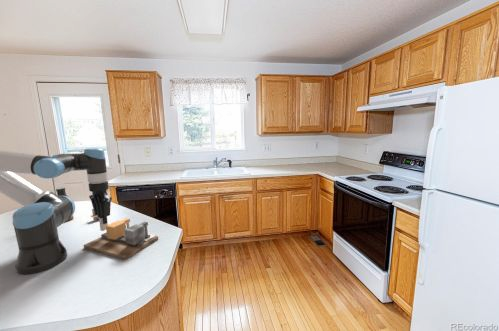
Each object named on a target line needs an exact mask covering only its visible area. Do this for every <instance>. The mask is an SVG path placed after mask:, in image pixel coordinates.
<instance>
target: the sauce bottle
mask: <svg viewBox="0 0 499 331" xmlns="http://www.w3.org/2000/svg"><path fill="white" fill-rule="evenodd" d="M55 191H56V195H58V196H67V197H69V196H68V195H67V193H66V187H64V186H63V187H58V188H56V189H55ZM72 220H74V214H73V215H72V216H71V217H70V218H69V219H68V220H67V221H66V222H70V221H72Z"/></svg>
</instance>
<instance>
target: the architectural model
mask: <svg viewBox="0 0 499 331" xmlns="http://www.w3.org/2000/svg"><path fill="white" fill-rule="evenodd" d="M91 212H92V215H90V217H91V218H92V219H93V221H96V220H97V221H98V220H99V217H98V216H97V215H95V213H94V209H93V208H91Z"/></svg>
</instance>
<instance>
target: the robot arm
mask: <svg viewBox="0 0 499 331" xmlns="http://www.w3.org/2000/svg"><path fill="white" fill-rule="evenodd" d="M106 159H107V158H106V154H105V150H104V149H103V148H101V147H100V148H99V147H95V148H94V147H93V148H92V147H91V148H85V149H84V150H83V152H81V153H59V154H58V153H57V154H54V155H52V156H49V155H48V156H47V155H40V154H32V153H24V152H18V151H17V152H15V151H8V150H0V193H1V194H2V195H4V196H6V197H7V198H10V200H13V201H14V202H16V203H18V204H19V205H20V206H22V207H20V208H18V209H17V210H15V211H14V212H13V214H12V226H13V229H14V233H15V238H16V242H17V246H18V254H17V258H16V262H15V271H16V273H17V274H19V275H31V274H36V273H39V272H42V271H47V270H48V269H51V268H53V267H56V266H58V265H60V263H63V262H64V261H65V260H66V259H67V257H68V250H67V249H66V246H64V244H63V243H62V241H61V239H60V237H59V231H58V228H59V227H60V226H61V225H63V223H65V222H68V221H67V220H68V219H69V218H70V217H71V216H72V215H73V216H74V214H75V212H76V204H75V202H74V200H73V199H72V198H71V197H70V196H68V195H67V196H68V197H67V196H58V195H57V193H54V192H53V191H52V190H47V191H44V190H43V189H42V188H40V187H38V186H36V185H35V184H33V183H31V182H29V181H28V180H27V179H25V178H23V177H22V176H21V175H19V174H26V175H36V176H38V177H40V178H42V179H52V178H57V177H59V176H61V175H64V174H67V173H70V172H72V171H84V170H85V171H86V174H87V176H86V177H87V182H88V190H89V192H90V193H91V192H92V193H91V194H90V195H89V197H88V198H89V199H90V202H91V205H92V209H94V213H95V215H97V216H98V217H99V219H98V222H99V229H100V231H101V232H104V231H106V225H109V224H108V217H109V216H111V206H112V205H111V204H112V199H113V198H112V197H111V196H108V194H109V193H108V192H107V190H108V189H109V187H110V186H109V181H108V173H107V172H108V171H107V163H106Z"/></svg>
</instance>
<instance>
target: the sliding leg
mask: <svg viewBox="0 0 499 331" xmlns="http://www.w3.org/2000/svg"><path fill="white" fill-rule="evenodd" d="M130 222H131V219H130V218H129V217H126V218H124V219H122V220H116V221H114V222H112V223H110V224H108V225H106V230H105V231H106V232H107V238H110V239H114V240H116V239H118V238H120V237H122V236H124V235H125V232H124V230H125V229H127V228H129V227H131V226H130Z"/></svg>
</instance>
